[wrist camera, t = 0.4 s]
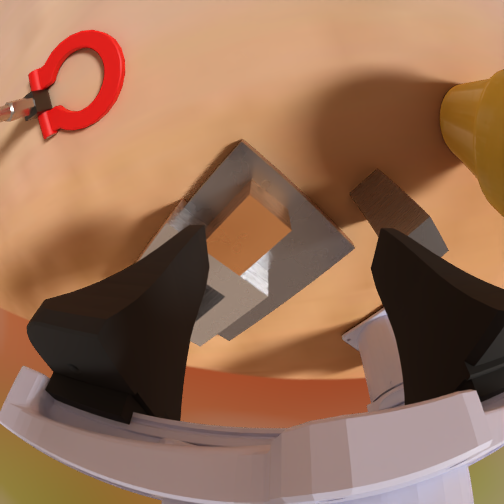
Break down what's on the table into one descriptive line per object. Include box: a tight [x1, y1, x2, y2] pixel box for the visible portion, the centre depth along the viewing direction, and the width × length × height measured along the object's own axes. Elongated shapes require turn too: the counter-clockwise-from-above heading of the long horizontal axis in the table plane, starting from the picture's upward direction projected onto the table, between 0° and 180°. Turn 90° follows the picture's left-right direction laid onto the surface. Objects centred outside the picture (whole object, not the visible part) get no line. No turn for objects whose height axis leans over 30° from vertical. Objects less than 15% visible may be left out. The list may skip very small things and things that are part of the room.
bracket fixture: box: [134, 139, 355, 346], centre depth 22 cm, size 12×16×4 cm
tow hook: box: [0, 30, 125, 139], centre depth 10 cm, size 8×13×9 cm
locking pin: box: [350, 169, 449, 257], centre depth 16 cm, size 3×3×8 cm
